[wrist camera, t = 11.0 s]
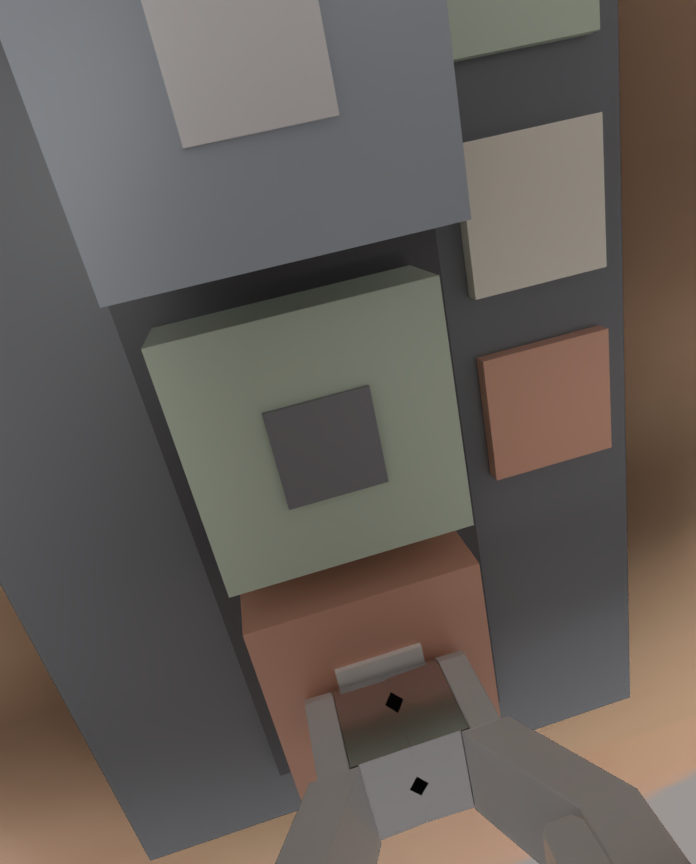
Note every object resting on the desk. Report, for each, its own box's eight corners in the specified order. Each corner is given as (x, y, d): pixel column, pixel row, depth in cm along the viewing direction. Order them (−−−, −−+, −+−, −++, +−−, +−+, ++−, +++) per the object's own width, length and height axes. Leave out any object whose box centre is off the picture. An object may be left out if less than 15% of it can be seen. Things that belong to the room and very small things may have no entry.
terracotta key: (239, 585, 11) (242, 639, 10) (450, 523, 12) (481, 566, 10) (292, 740, 13) (301, 805, 11) (475, 680, 13) (504, 735, 12)
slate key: (-29, -129, 6) (-103, -227, 5) (374, -193, 6) (417, -300, 5) (119, 288, 8) (98, 308, 6) (430, 216, 8) (474, 220, 7)
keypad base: (-762, -987, 5) (-1118, -1421, 4) (532, -994, 6) (618, -1315, 5) (155, 811, 15) (149, 874, 13) (601, 662, 16) (637, 706, 15)
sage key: (151, 328, 9) (139, 350, 8) (409, 265, 10) (441, 276, 8) (227, 550, 11) (229, 601, 9) (445, 487, 11) (476, 528, 10)
